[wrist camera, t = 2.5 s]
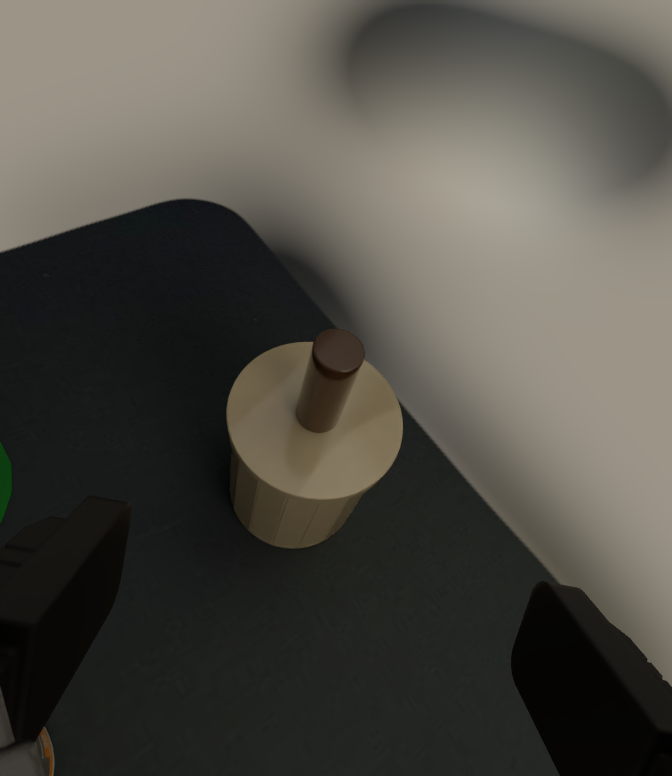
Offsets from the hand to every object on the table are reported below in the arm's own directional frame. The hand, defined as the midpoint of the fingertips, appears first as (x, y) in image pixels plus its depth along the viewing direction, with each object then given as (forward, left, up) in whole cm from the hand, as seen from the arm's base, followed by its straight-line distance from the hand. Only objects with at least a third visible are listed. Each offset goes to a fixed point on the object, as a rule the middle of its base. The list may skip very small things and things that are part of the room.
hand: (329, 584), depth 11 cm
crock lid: (+3, -9, -11) cm, 15 cm away
